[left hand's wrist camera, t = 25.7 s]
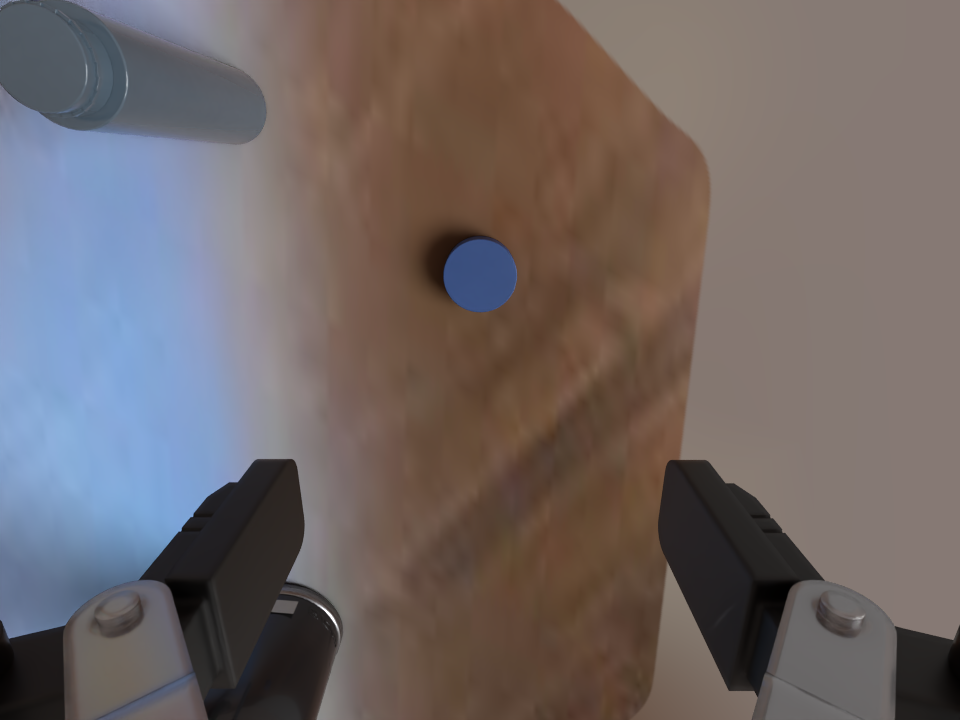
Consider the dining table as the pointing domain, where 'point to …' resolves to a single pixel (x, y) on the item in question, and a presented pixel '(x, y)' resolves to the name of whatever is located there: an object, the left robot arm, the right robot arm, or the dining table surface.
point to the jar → (121, 77)
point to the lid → (480, 274)
